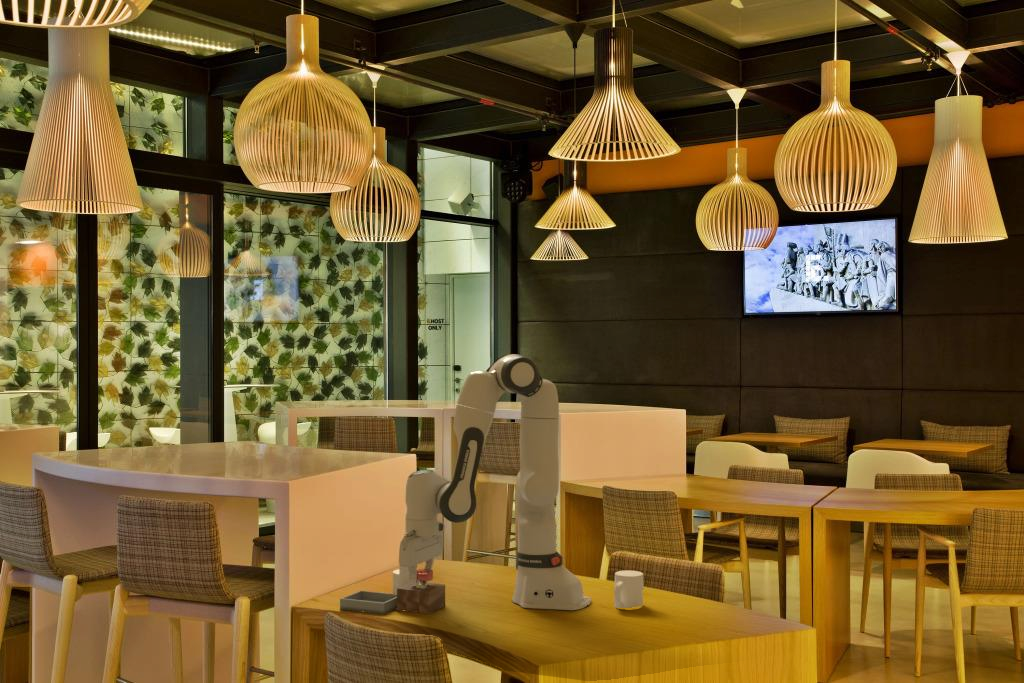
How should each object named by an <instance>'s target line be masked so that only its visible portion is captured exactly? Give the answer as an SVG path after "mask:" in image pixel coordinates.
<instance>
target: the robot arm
mask: <svg viewBox="0 0 1024 683" xmlns="http://www.w3.org/2000/svg"><path fill="white" fill-rule="evenodd" d="M460 390H461V391H460V392H459V396H458V399H457V402H456V406H455V411H454V415H453V416H454V417H453V431H454V434H455V436H456V440H457V450H458V451H457V457H456V461H455V465H454V469H453V474H452V479H449V478H447V477H445V476H442V475H441V474H439V473H437V472H436V471H435V470H434V469H421V470H416V471H414V472H412V473H411V474H409V476H408V477H407V480H406V486H405V505H406V514H405V533H404V536H403V538H401V540H400V543H399V550H398V565H400V566H401V567H408V570H409V572H410V579H411V580H412V581H416V580H418V579H419V577H418V576H419V574H417V571H416V569H418V565H419V564H422V563H425V564H424V565H425V567H424V568H423V570H433V569H432V568H433V567H434V566H433V565H434V562H435V558H438V557H440V556H441V555H442V554H443V550H444V531H445V523H444V522H442V521H439V520H438V515H439V514H440V515H442V516H443V517H444V518H445V519H446V521H448V522H451V523H456V524H457V523H458V524H459V523H463V522H465V521H467V520H469V519H471V517H472V516H473V515H474V513H475V511H476V509H477V498H476V490H475V487H476V480H477V475H478V470H479V466H480V461H481V456H482V452H483V449H484V446H485V444H486V440H487V437H488V434H489V432H490V429H491V426H492V423H493V420H494V417H495V414H496V413H495V412H496V408H497V403H498V401H499V400H500V398H501V397H502V395H504V394H505V393H509V394H517V396H518V398H519V399H520V400H519V401H520V405H521V407H520V424H519V425H520V427H519V464H520V465H519V471H518V473H517V475H516V477H515V478H516V479H515V494H516V495H515V496H516V517H517V551H516V556H515V566H516V570H517V571H516V579H515V580H516V581H515V587H514V591H513V592H514V593H513V595H512V601H511V602H513V603H515V604H516V605H519V606H520V607H521V608H523V609H538V610H539V609H542V610H543V609H544V610H560V611H562V610H563V611H577V610H581V609H584V608H586V607H587V605H588V606H589V605H590V604H591V603H590V602H592V600H591V597H590V596H587V595H584V591H583V584H582V582H581V580H580V579H579V577H577V576H576V575H575V574H573V573H572V572H571V571H570V570H568V568H566V567H565V566H564V565H563V559H565V554H563V553H562V554H560V553H559V552H558V551H557V521H556V520H557V519H556V508H555V500H556V498H557V496H558V494H559V485H560V484H559V483H560V482H559V481H560V480H559V478H560V477H559V474H560V473H559V468H560V466H559V447H558V446H559V424H560V423H559V422H560V421H559V420H560V419H559V417H560V416H559V415H560V406H559V404H560V403H559V396H558V395H559V394H558V388H557V387H556V385H555V383H554V382H552V381H551V380H549V379H546V378H542V375H541V372H540V371H539V369H538V367H537V365H536V363H535V362H534V360H532V359H531V358H530V357H528V356H527V355H521V354H516V353H515V354H514V353H512V354H507V355H502V356H500V357H498V358H497V359H496V360H495V361H494V362H493V363H492V364H491V365H490V366H489V367H488V368H487V369H486V370H474V371H471V372H470V373H469V374H468V375H467V377H466V378H465V381H464V383H463V386H462V387H461V389H460Z"/></svg>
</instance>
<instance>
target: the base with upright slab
mask: <svg viewBox="0 0 1024 683" xmlns="http://www.w3.org/2000/svg"><path fill="white" fill-rule="evenodd" d="M398 565H399V564H398ZM411 582H413V581H412V580H411V579H410V572H409V570H408V567H401V566H400V565H399V566H398V569H395V570H392V593H393V592H394V593H396V594H397V588H399V587H402V586H404V585H406V584H409V583H411ZM394 593H393V594H394Z"/></svg>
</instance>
